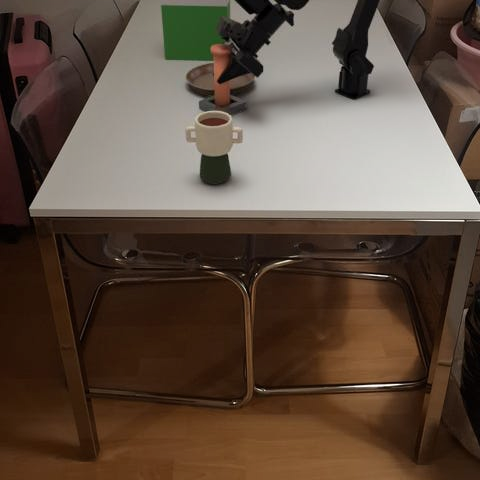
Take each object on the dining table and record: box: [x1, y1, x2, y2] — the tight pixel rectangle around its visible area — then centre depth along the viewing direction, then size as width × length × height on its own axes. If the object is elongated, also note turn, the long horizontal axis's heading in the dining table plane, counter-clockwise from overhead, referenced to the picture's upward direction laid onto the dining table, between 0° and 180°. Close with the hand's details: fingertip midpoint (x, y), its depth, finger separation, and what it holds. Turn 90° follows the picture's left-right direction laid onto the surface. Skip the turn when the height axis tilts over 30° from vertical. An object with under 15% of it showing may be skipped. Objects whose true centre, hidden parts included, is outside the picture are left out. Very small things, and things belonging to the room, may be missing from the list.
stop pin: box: [211, 44, 232, 108], centre depth 150 cm, size 5×5×15 cm
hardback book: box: [160, 0, 231, 62], centre depth 175 cm, size 18×7×24 cm, turn 85°
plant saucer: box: [185, 62, 256, 97], centre depth 165 cm, size 18×18×3 cm
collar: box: [198, 94, 247, 116], centre depth 154 cm, size 8×8×2 cm
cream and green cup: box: [185, 111, 244, 185], centre depth 125 cm, size 11×7×13 cm, turn 86°
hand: (216, 79), depth 149 cm, fingers closed on stop pin, 4 cm apart
